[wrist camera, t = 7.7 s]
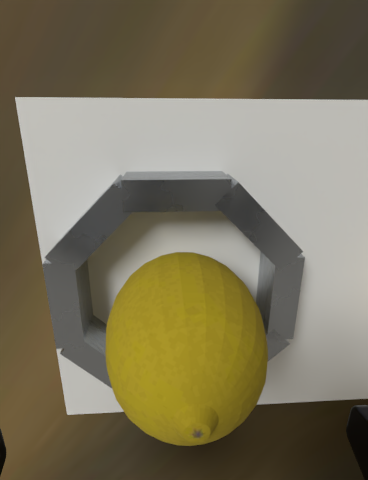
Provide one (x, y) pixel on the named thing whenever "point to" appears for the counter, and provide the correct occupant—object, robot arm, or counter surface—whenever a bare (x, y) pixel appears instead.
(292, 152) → the board
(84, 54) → the counter surface
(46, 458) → the counter surface
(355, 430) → the robot arm
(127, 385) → the lemon
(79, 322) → the ring
